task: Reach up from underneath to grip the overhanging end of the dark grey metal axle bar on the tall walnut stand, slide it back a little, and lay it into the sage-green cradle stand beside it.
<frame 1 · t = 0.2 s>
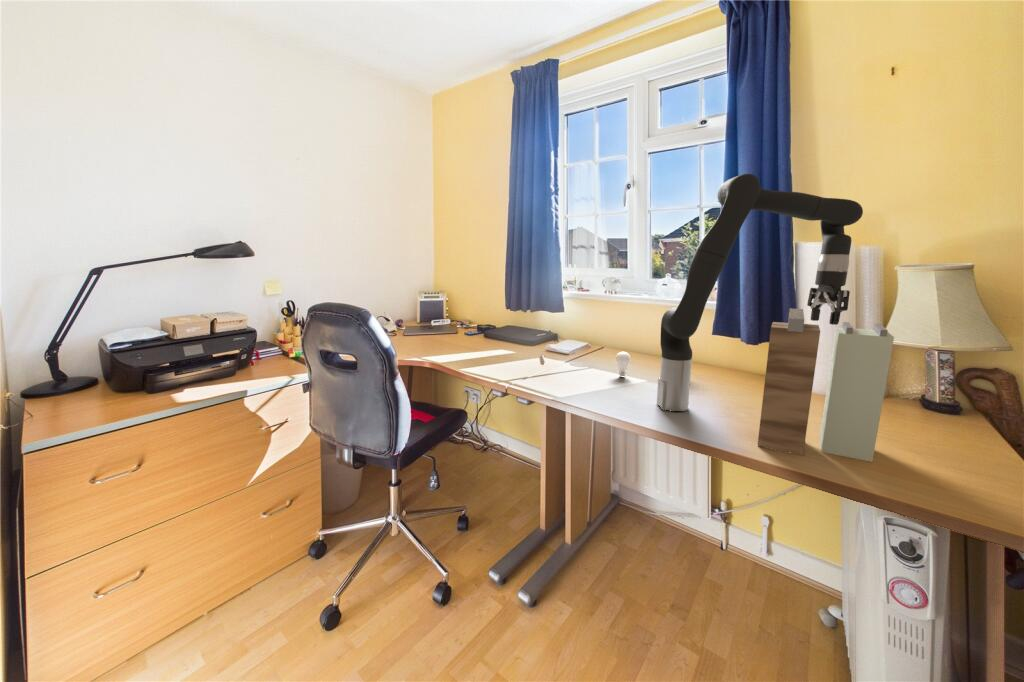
hand: (823, 322, 130), 29 cm above the table, tool pointing down, fingers open, 8 cm apart
axle bar: (795, 324, 107), point 32 cm above the table, touching walnut stand
lightbulb: (622, 377, 174), on the table
walnut stand: (780, 443, 112), on the table
cradle stand: (844, 449, 108), on the table
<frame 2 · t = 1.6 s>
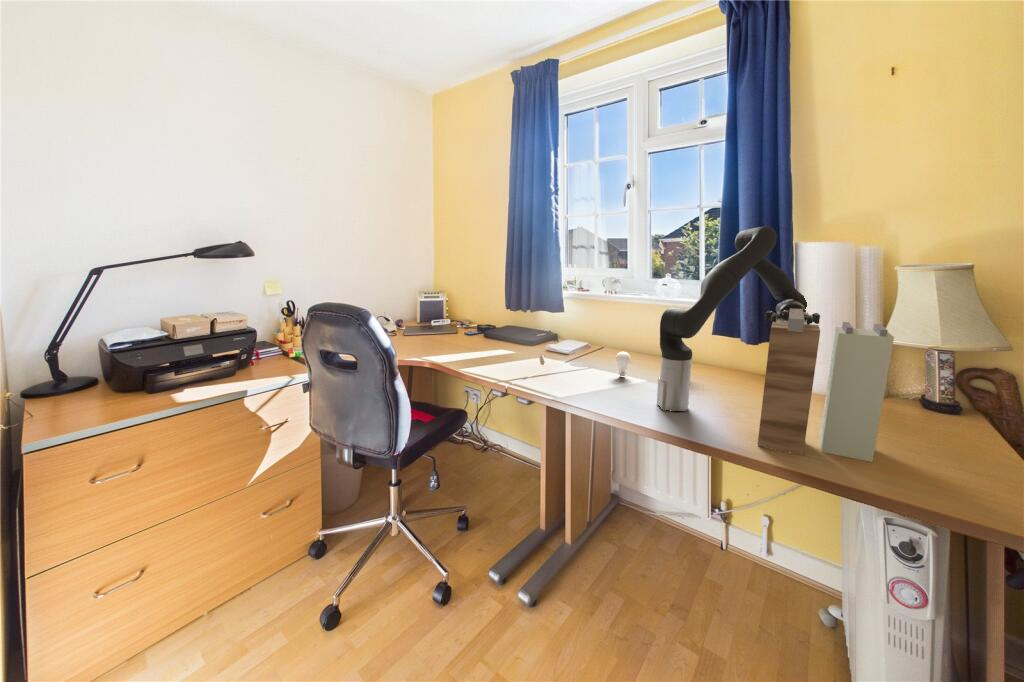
hand: (791, 320, 127), 30 cm above the table, tool horizontal, fingers open, 8 cm apart
nothing on the table moved.
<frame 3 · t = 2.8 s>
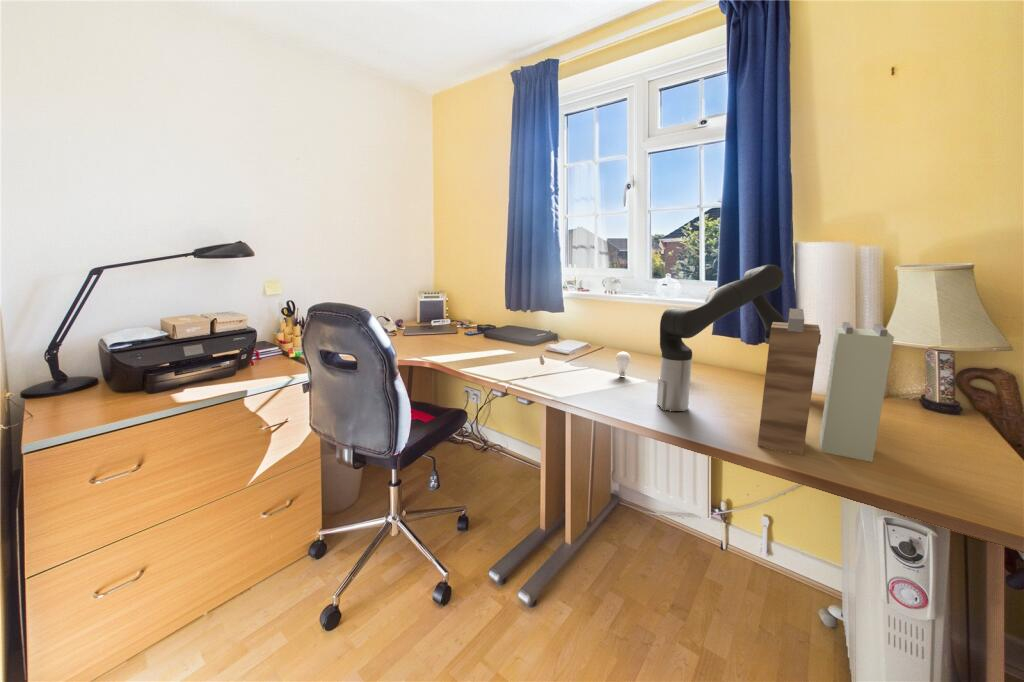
hand: (792, 330, 124), 28 cm above the table, tool pointing upward, fingers open, 8 cm apart
nothing on the table moved.
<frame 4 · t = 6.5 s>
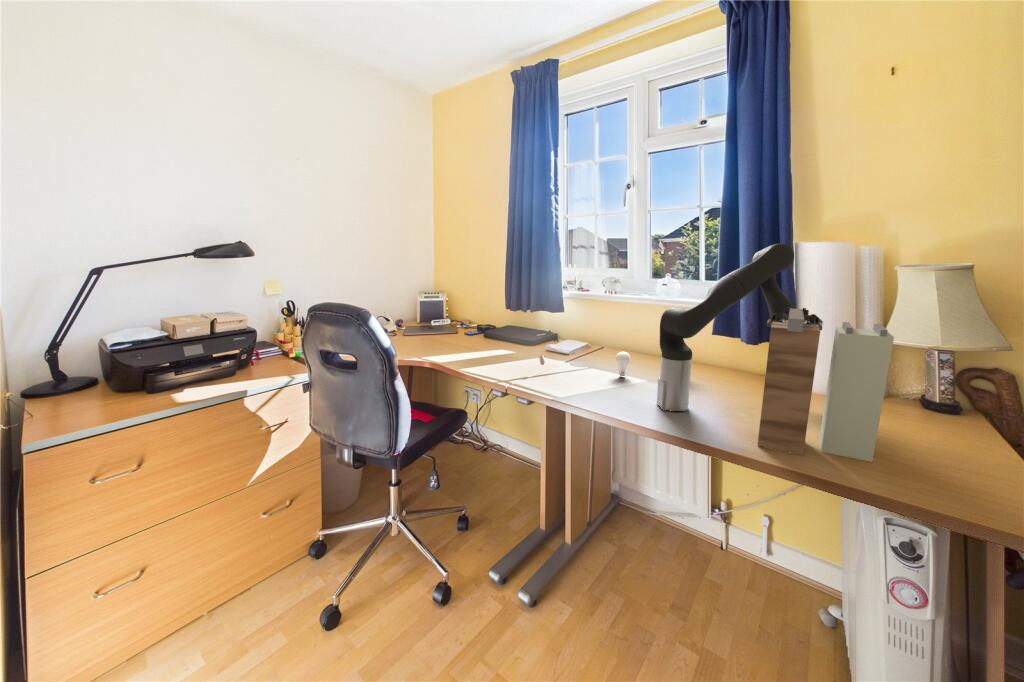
hand: (796, 311, 112), 35 cm above the table, tool pointing upward, fingers closed on axle bar, 3 cm apart
axle bar: (794, 324, 107), point 32 cm above the table, touching gripper, walnut stand
everything else where it was.
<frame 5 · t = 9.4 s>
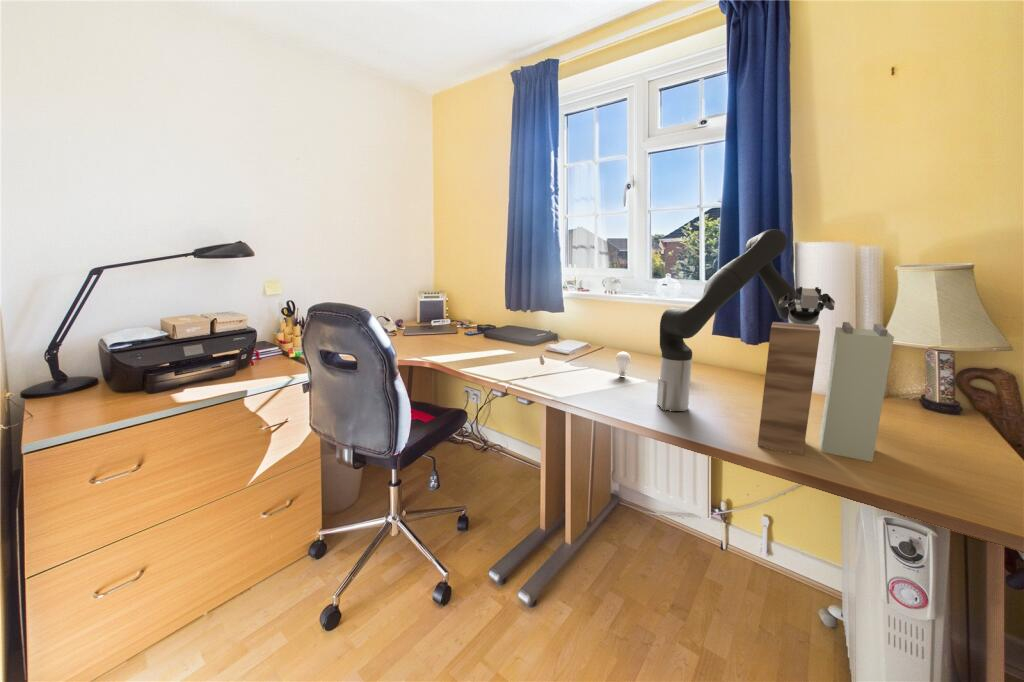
hand: (808, 290, 112), 40 cm above the table, tool pointing upward, fingers closed on axle bar, 3 cm apart
axle bar: (807, 303, 107), point 37 cm above the table, touching gripper
everything else where it was.
when the fingers open (35 cm above the table, at t = 12.5 s): axle bar drops 1 cm, resting on cradle stand.
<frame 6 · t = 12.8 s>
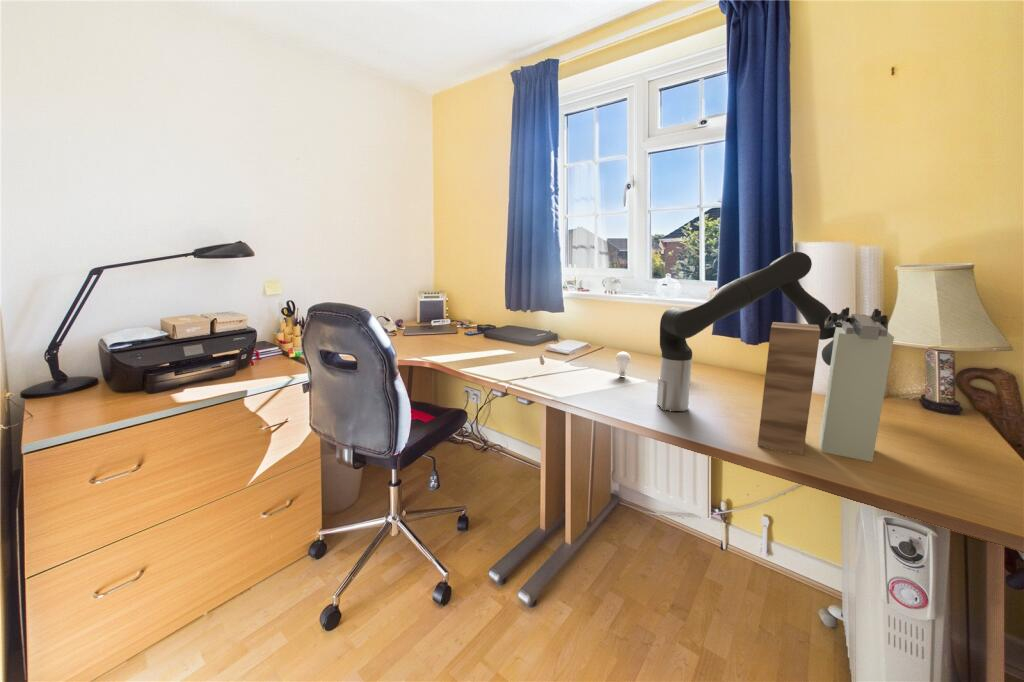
hand: (862, 311, 107), 35 cm above the table, tool pointing upward, fingers open, 5 cm apart
axle bar: (862, 331, 102), point 31 cm above the table, touching cradle stand
everything else where it was.
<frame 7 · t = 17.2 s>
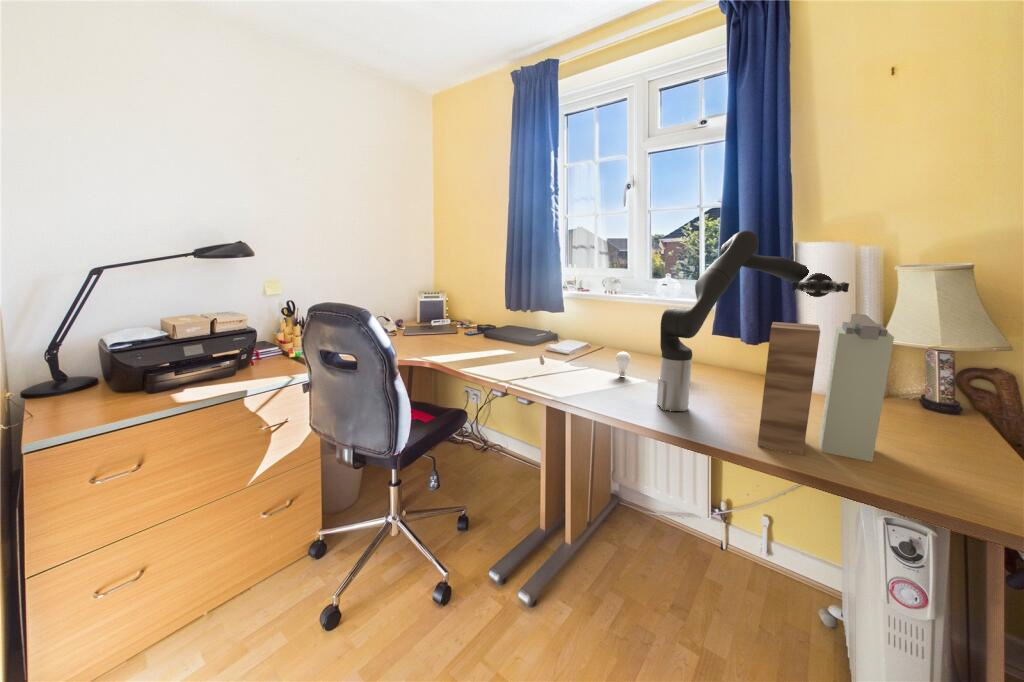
hand: (820, 287, 125), 40 cm above the table, tool horizontal, fingers open, 8 cm apart
nothing on the table moved.
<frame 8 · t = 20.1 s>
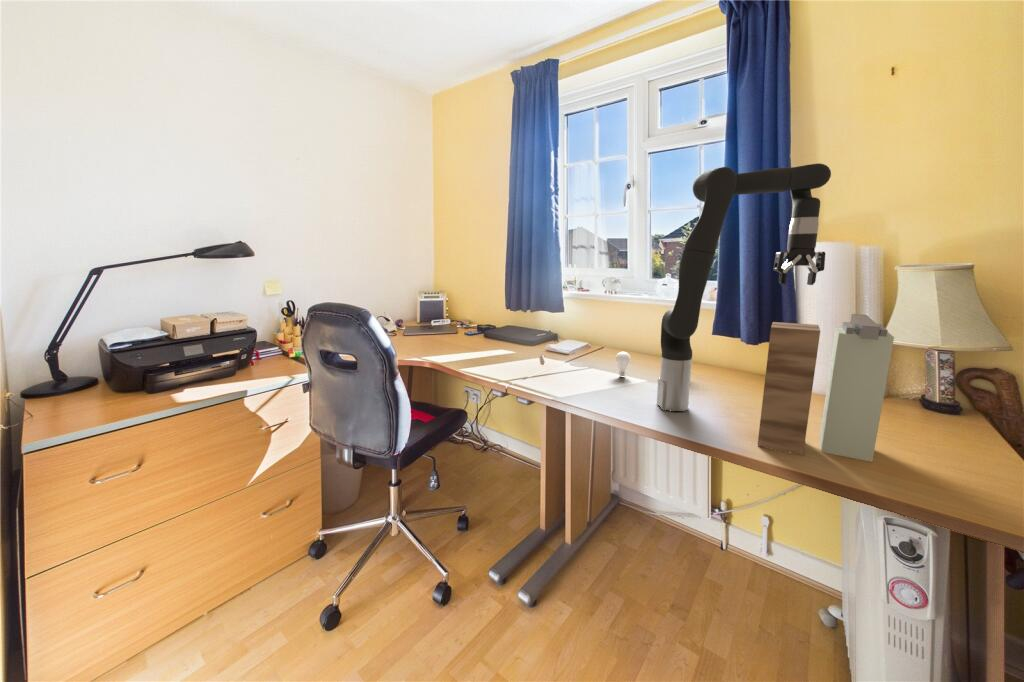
hand: (796, 284, 134), 40 cm above the table, tool pointing down, fingers open, 8 cm apart
nothing on the table moved.
at the end: axle bar inside the target area on the cradle stand (0.2 cm from its centre), point 31.0 cm above the cradle stand's base; axle bar touching cradle stand; the gripper is holding nothing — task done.
